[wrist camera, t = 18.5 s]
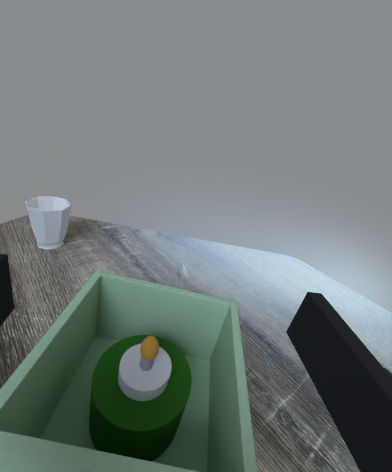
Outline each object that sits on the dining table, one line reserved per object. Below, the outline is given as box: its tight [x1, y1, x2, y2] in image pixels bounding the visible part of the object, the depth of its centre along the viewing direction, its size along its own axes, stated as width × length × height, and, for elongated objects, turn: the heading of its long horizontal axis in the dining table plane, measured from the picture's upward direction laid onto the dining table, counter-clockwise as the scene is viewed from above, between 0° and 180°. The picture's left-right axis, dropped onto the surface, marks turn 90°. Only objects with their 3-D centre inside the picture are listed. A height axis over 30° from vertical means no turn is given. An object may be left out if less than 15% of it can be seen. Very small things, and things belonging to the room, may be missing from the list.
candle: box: [89, 335, 192, 462], centre depth 21 cm, size 8×8×10 cm
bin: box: [0, 270, 258, 472], centre depth 21 cm, size 16×16×10 cm
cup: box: [25, 196, 71, 250], centre depth 45 cm, size 7×10×8 cm
